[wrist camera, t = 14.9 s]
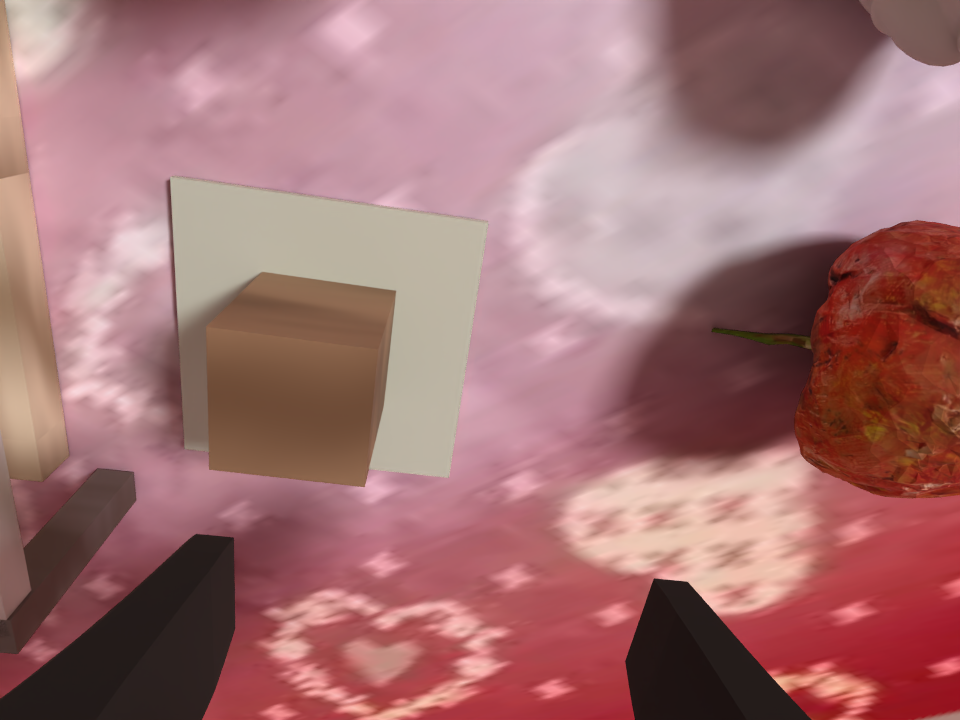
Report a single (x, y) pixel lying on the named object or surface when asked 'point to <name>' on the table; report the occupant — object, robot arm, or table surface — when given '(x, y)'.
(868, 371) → the red rounded fruit
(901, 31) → the frog figurine
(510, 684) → the table surface
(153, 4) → the table surface
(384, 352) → the walnut block
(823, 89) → the table surface
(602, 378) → the table surface
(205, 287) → the rubber mat
